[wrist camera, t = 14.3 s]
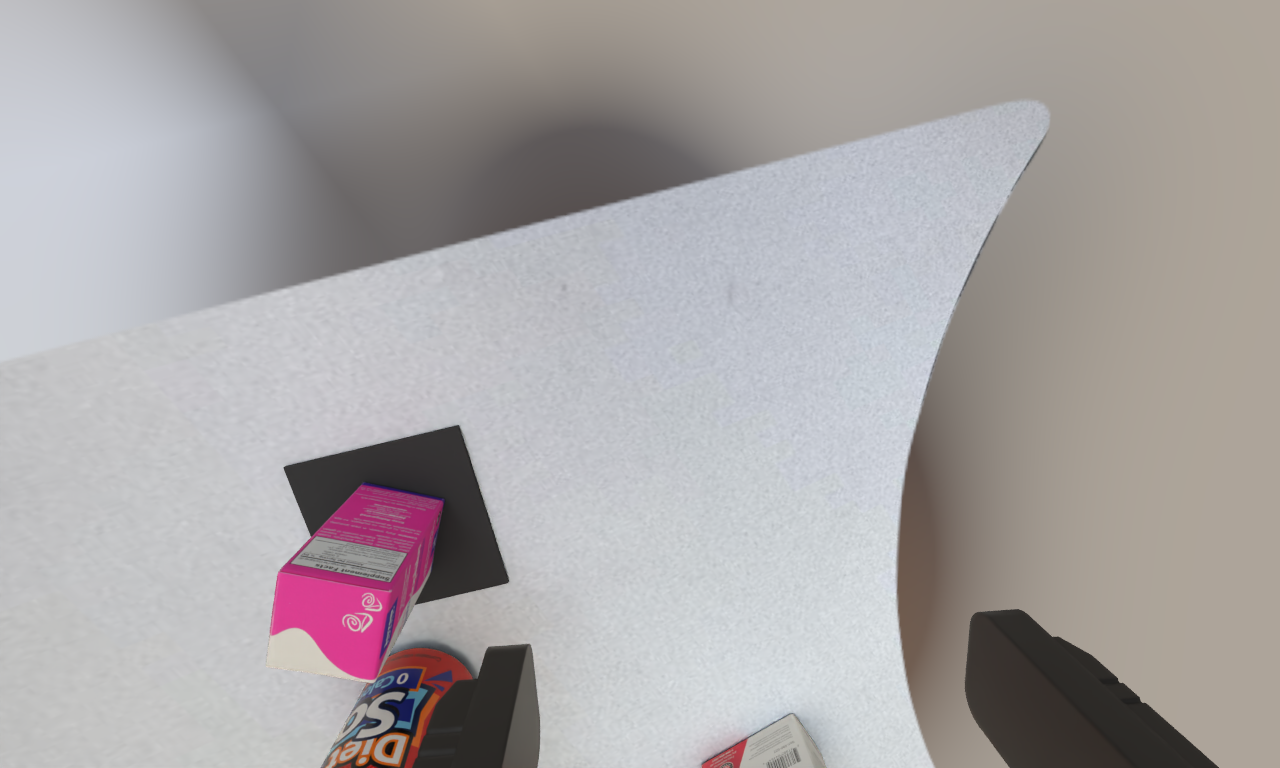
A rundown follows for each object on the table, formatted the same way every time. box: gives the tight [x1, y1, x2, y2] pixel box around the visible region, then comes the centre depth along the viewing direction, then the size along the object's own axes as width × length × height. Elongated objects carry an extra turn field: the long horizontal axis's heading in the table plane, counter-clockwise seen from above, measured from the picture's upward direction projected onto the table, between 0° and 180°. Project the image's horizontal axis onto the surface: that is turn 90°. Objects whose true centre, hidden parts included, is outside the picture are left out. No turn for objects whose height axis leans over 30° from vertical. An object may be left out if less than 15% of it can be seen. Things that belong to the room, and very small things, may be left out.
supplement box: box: [266, 482, 445, 683], centre depth 37 cm, size 6×6×12 cm
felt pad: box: [284, 425, 509, 605], centre depth 42 cm, size 12×12×1 cm
